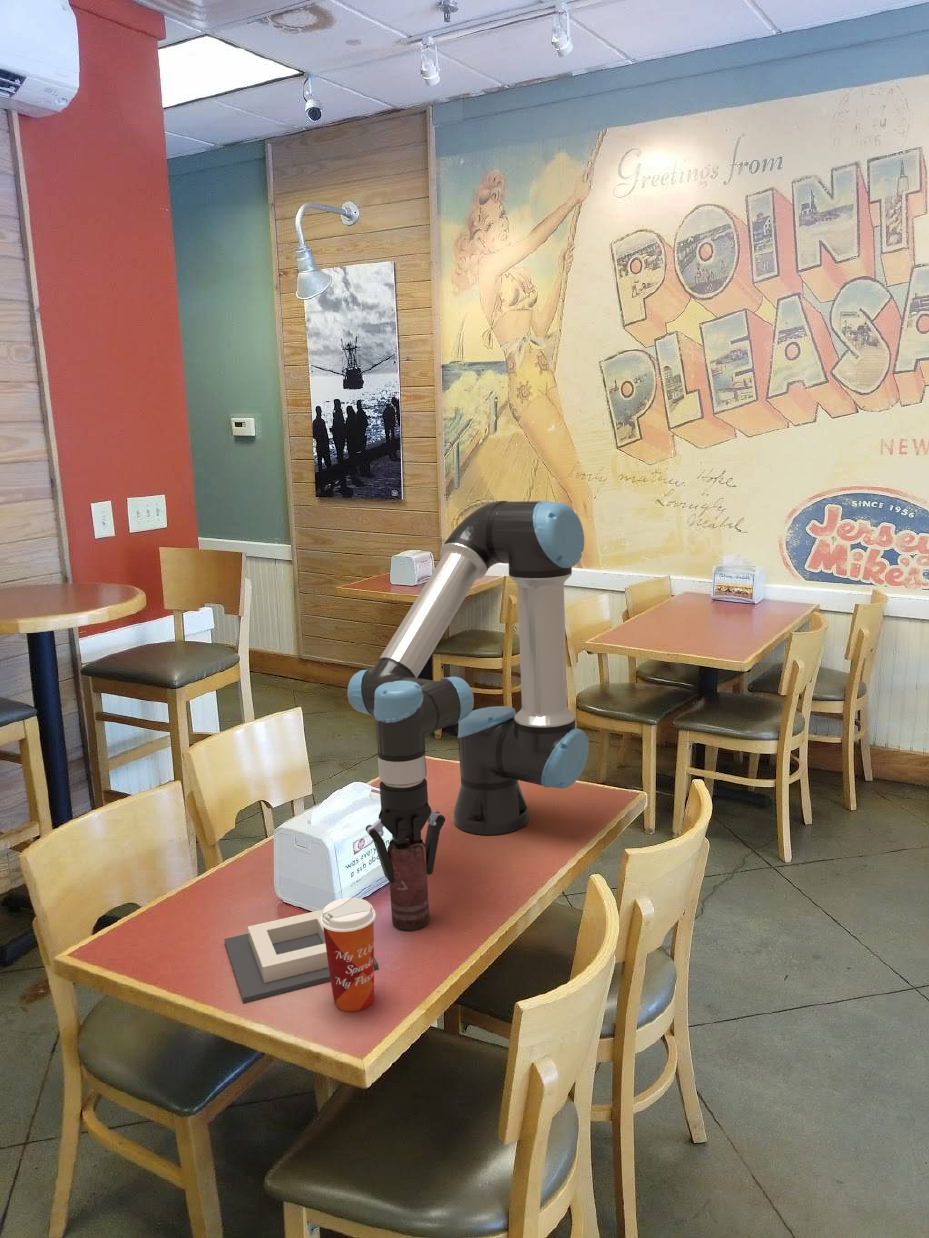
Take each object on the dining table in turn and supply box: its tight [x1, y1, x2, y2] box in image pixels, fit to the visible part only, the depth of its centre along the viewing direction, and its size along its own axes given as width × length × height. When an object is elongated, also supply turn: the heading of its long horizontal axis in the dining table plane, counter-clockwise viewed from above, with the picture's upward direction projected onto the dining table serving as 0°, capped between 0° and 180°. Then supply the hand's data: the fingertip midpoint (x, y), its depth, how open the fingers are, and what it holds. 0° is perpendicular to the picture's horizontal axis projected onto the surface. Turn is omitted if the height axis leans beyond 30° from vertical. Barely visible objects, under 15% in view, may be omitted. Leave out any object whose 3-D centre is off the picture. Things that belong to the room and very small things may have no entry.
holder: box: [247, 908, 329, 983], centre depth 148 cm, size 13×13×2 cm
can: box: [386, 836, 430, 932], centre depth 156 cm, size 6×6×14 cm
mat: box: [223, 933, 379, 1004], centre depth 149 cm, size 20×18×1 cm
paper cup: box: [320, 897, 377, 1013], centre depth 135 cm, size 8×8×14 cm
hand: (411, 916), depth 157 cm, fingers closed
